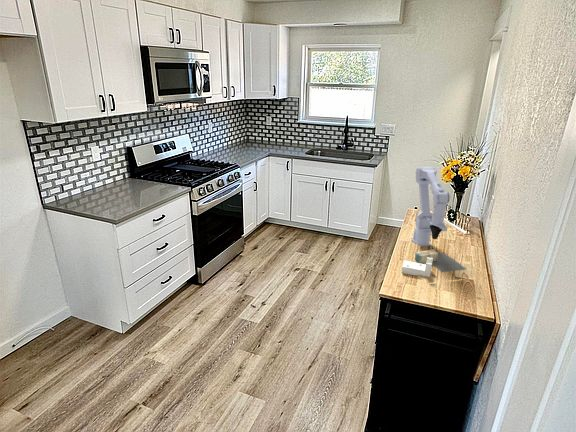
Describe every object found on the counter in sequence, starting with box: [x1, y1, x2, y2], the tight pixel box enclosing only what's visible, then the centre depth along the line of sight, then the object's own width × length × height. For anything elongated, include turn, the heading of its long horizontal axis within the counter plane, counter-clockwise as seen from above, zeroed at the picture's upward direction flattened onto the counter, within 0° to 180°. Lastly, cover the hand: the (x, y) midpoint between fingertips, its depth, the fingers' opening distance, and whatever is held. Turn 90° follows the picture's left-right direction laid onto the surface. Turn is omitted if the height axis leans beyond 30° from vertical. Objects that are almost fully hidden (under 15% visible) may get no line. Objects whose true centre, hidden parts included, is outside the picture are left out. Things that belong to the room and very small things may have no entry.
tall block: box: [414, 249, 439, 264], centre depth 191 cm, size 4×4×10 cm
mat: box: [432, 252, 467, 273], centre depth 191 cm, size 19×14×1 cm
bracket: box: [401, 257, 433, 278], centre depth 180 cm, size 13×7×8 cm, turn 66°
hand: (434, 238), depth 196 cm, fingers closed
